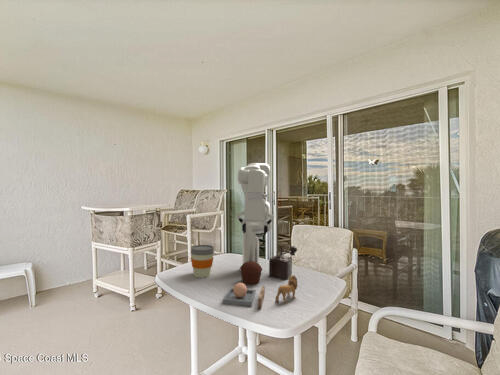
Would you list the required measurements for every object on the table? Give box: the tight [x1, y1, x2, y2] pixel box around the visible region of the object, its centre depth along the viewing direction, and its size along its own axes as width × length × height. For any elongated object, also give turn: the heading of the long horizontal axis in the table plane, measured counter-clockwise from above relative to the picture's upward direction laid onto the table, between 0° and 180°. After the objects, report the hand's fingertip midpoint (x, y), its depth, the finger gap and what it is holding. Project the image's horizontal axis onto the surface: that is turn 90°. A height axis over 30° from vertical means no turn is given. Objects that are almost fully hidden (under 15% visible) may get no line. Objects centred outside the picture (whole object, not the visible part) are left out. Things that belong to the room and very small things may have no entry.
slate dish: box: [222, 287, 257, 307], centre depth 105 cm, size 12×12×2 cm
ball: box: [232, 282, 248, 298], centre depth 105 cm, size 6×6×6 cm
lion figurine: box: [275, 274, 298, 305], centre depth 105 cm, size 15×5×9 cm, turn 142°
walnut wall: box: [257, 285, 266, 310], centre depth 102 cm, size 13×1×4 cm, turn 171°
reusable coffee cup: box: [190, 244, 215, 279], centre depth 133 cm, size 13×13×15 cm
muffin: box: [239, 261, 263, 286], centre depth 124 cm, size 12×11×10 cm
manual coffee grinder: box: [268, 245, 298, 280], centre depth 133 cm, size 16×11×18 cm
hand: (254, 233), depth 112 cm, fingers open, 9 cm apart
